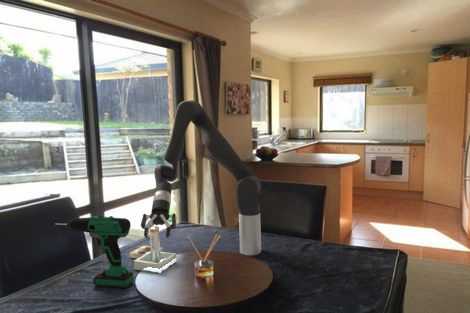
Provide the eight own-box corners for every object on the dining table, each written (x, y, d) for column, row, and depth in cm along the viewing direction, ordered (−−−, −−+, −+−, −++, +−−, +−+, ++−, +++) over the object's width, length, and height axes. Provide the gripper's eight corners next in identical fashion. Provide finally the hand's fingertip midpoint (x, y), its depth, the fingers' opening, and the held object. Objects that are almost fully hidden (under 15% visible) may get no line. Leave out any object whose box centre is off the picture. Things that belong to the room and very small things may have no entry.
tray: (152, 258, 156) (151, 250, 155) (176, 261, 151) (176, 253, 151) (134, 269, 144) (133, 260, 144) (160, 273, 140) (159, 264, 140)
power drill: (127, 289, 127) (123, 218, 125) (54, 284, 133) (48, 216, 131) (135, 282, 133) (131, 214, 130) (64, 277, 139) (59, 212, 136)
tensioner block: (143, 249, 167) (143, 243, 166) (162, 252, 163) (162, 245, 163) (129, 257, 157) (129, 251, 157) (149, 260, 154) (149, 253, 153)
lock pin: (154, 261, 150) (153, 226, 149) (162, 262, 149) (160, 226, 147) (149, 265, 147) (147, 228, 145) (157, 266, 145) (155, 229, 144)
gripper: (143, 198, 157) (137, 233, 147) (176, 198, 157) (172, 232, 146) (147, 208, 163) (141, 241, 153) (179, 207, 163) (175, 241, 152)
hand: (156, 237), depth 150 cm, fingers open, 8 cm apart
